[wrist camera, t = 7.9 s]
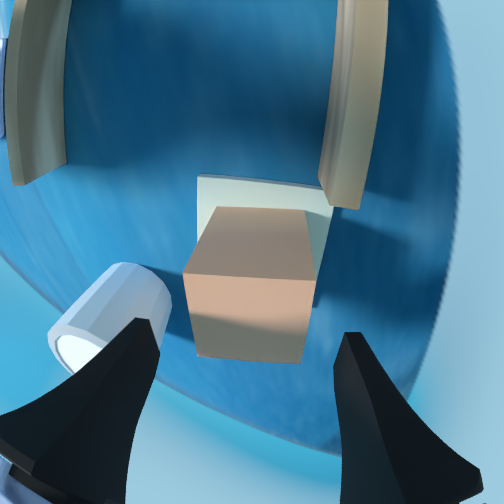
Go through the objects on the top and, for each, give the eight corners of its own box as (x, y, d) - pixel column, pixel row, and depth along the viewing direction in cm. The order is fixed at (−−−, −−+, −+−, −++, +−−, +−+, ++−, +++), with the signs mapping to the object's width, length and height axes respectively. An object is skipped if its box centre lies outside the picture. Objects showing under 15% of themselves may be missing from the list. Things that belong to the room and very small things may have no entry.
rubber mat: (201, 293, 19) (199, 299, 18) (200, 173, 15) (197, 176, 14) (307, 306, 18) (308, 312, 18) (334, 188, 14) (336, 192, 14)
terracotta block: (220, 277, 17) (197, 356, 12) (216, 206, 15) (182, 273, 10) (297, 281, 17) (300, 363, 12) (304, 210, 14) (316, 280, 9)
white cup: (199, 295, 19) (168, 381, 13) (156, 340, 22) (127, 411, 16) (114, 235, 17) (53, 304, 11) (87, 292, 20) (42, 356, 14)
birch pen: (54, 163, 15) (12, 185, 11) (64, -21, 8) (23, -30, 4) (340, 180, 14) (358, 210, 11) (362, -44, 7) (385, -76, 4)
